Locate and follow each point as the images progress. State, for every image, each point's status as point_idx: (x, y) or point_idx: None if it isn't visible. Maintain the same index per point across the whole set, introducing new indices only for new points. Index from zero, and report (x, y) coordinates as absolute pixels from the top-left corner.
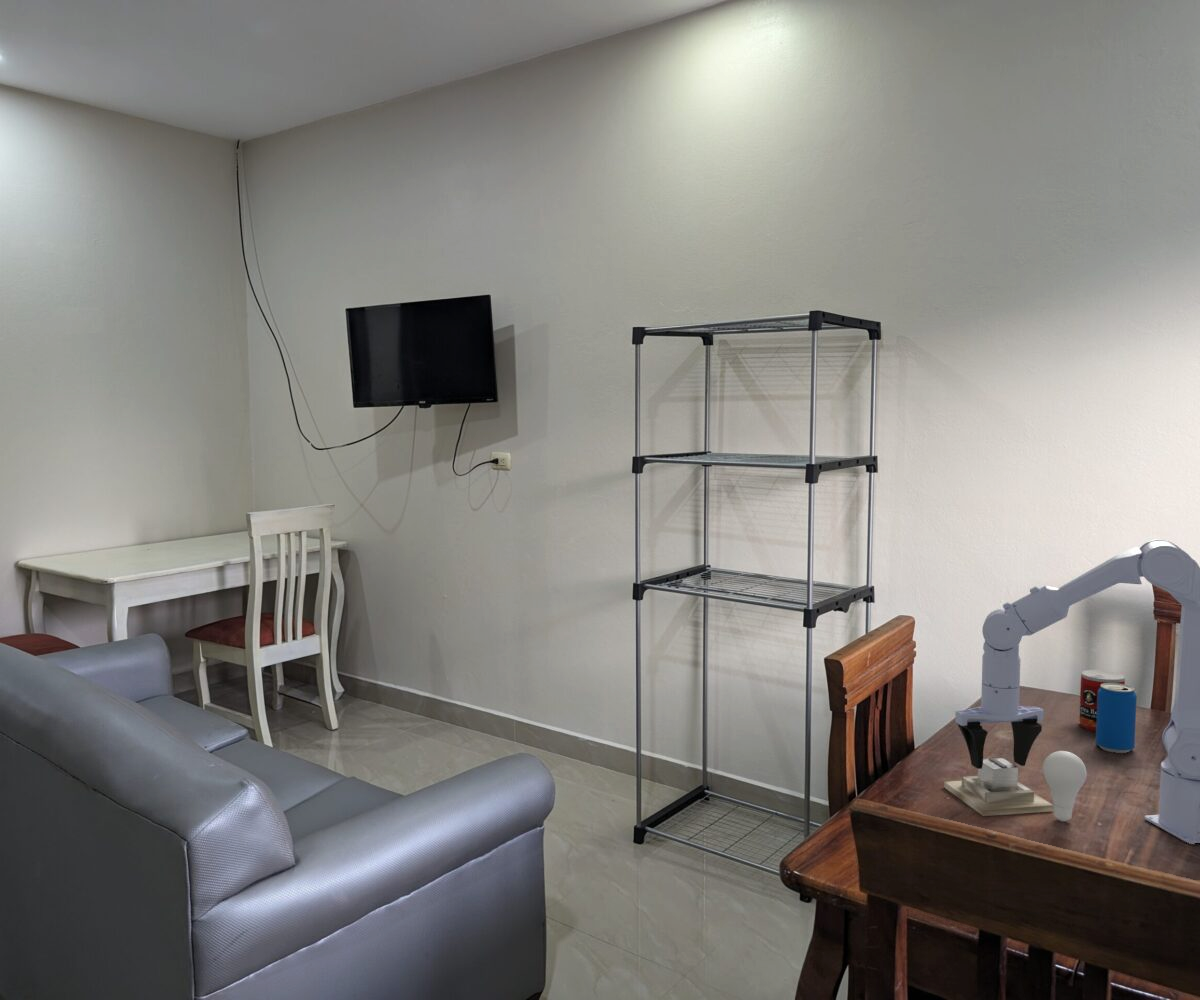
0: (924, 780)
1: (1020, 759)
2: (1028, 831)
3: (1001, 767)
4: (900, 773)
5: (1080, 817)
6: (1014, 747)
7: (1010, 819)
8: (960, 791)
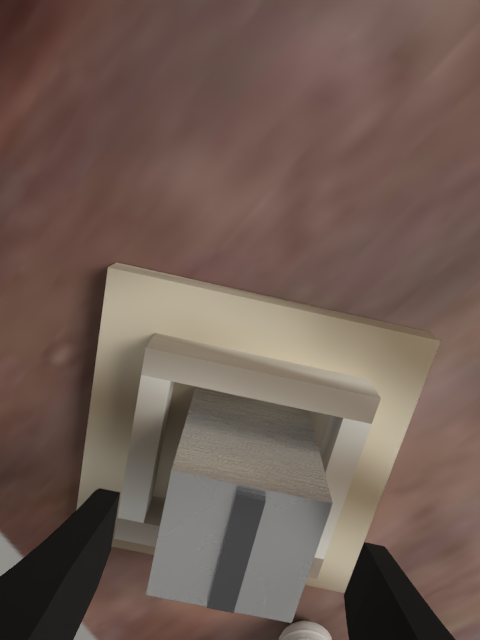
0: (81, 150)
1: (353, 620)
2: (142, 635)
3: (207, 594)
4: (14, 7)
5: None
6: (398, 613)
7: None
8: (105, 382)
